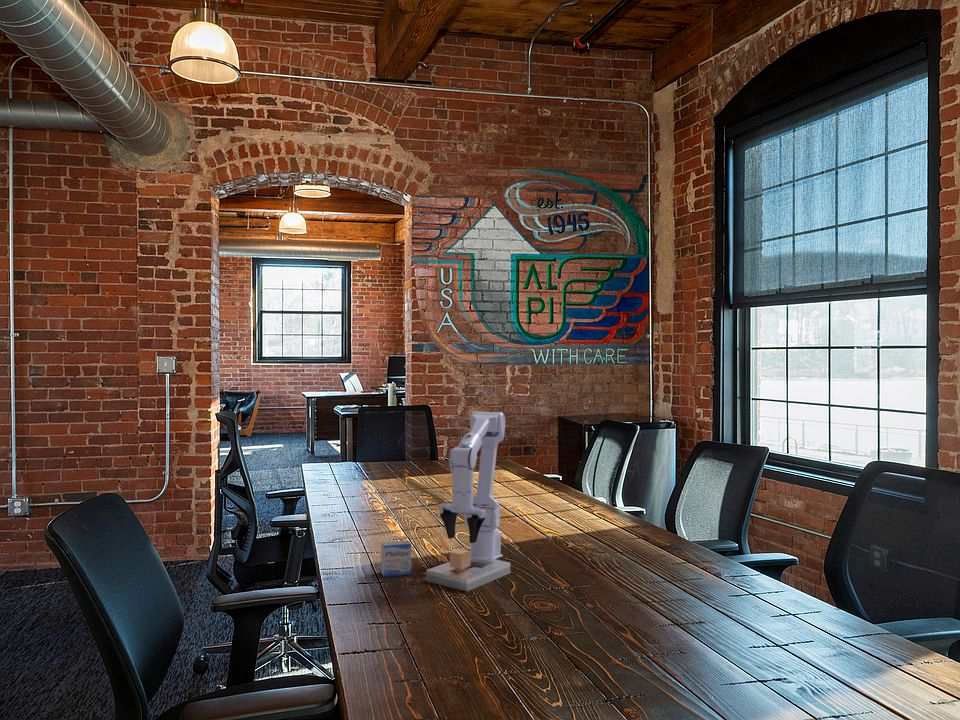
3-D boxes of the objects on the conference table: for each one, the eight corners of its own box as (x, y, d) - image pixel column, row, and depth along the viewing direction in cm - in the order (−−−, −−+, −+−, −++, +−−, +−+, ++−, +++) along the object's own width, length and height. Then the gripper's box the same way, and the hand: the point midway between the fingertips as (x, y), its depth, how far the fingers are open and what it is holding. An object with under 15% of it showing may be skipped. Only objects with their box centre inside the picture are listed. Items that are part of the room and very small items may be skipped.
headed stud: (458, 576, 207) (458, 548, 207) (472, 580, 204) (473, 551, 204) (447, 581, 203) (447, 552, 203) (461, 585, 200) (461, 555, 200)
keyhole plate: (470, 564, 219) (470, 554, 219) (510, 573, 211) (510, 562, 211) (426, 581, 203) (426, 570, 203) (467, 591, 195) (467, 580, 195)
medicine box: (383, 577, 206) (383, 545, 206) (380, 572, 211) (381, 541, 211) (411, 575, 209) (411, 544, 208) (408, 570, 213) (408, 539, 213)
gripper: (432, 489, 207) (432, 538, 208) (474, 496, 199) (474, 547, 199) (448, 486, 213) (448, 533, 213) (490, 492, 204) (490, 542, 205)
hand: (462, 540), depth 207 cm, fingers open, 7 cm apart
